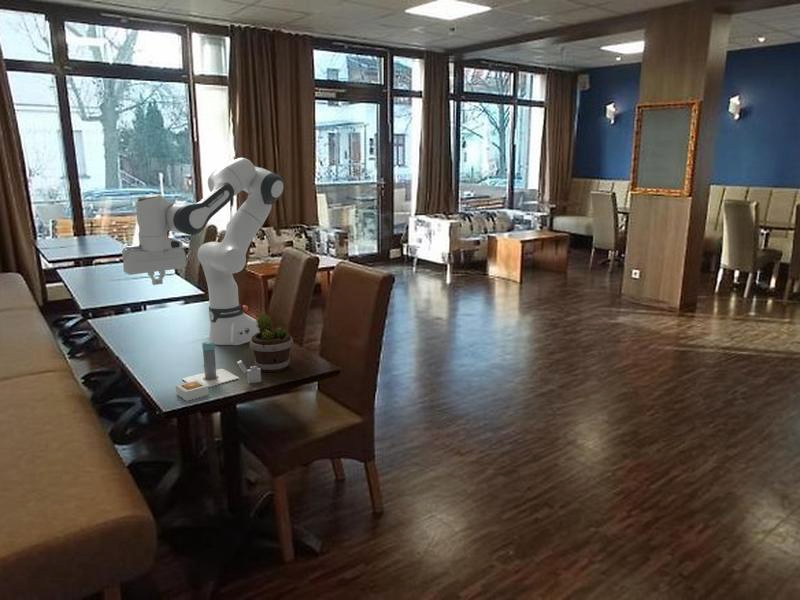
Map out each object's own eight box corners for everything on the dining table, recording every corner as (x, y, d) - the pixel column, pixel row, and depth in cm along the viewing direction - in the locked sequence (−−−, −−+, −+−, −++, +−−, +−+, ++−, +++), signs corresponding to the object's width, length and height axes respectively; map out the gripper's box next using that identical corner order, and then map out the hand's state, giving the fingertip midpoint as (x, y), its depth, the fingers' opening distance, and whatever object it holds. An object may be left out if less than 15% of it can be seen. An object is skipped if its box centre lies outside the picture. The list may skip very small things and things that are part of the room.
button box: (198, 388, 184) (197, 379, 183) (208, 395, 179) (207, 385, 178) (176, 394, 179) (175, 385, 178) (186, 401, 174) (185, 391, 174)
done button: (195, 387, 182) (195, 381, 181) (202, 391, 179) (201, 384, 178) (182, 390, 179) (181, 384, 178) (188, 394, 176) (188, 388, 175)
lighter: (259, 379, 192) (258, 356, 190) (261, 381, 190) (260, 358, 188) (238, 383, 188) (236, 360, 186) (239, 385, 187) (238, 361, 185)
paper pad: (221, 370, 200) (221, 368, 200) (239, 379, 192) (239, 377, 192) (182, 380, 191) (181, 378, 191) (198, 390, 183) (198, 388, 182)
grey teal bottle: (213, 374, 194) (210, 340, 191) (218, 377, 191) (216, 342, 189) (202, 377, 191) (200, 342, 189) (208, 380, 189) (205, 345, 186)
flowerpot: (303, 367, 203) (301, 312, 198) (264, 378, 193) (261, 320, 188) (279, 357, 213) (277, 304, 209) (242, 367, 203) (238, 312, 198)
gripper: (125, 247, 185) (129, 290, 189) (187, 241, 199) (190, 281, 203) (117, 245, 190) (122, 287, 193) (179, 240, 204) (182, 278, 207)
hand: (157, 284), depth 198 cm, fingers closed
